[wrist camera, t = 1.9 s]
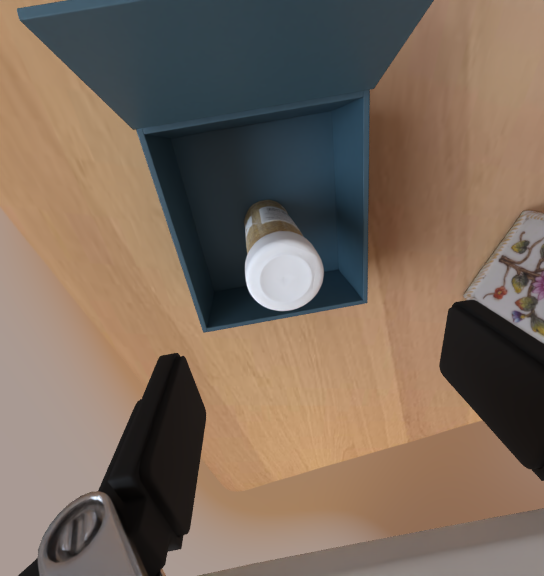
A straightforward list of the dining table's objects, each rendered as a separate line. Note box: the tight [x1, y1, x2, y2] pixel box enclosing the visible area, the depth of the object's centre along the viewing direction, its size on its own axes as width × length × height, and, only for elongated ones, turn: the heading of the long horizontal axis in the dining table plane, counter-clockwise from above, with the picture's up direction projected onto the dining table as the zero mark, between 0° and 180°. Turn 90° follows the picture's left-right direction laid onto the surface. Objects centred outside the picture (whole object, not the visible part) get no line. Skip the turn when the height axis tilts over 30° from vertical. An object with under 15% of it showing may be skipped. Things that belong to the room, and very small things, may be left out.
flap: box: [17, 0, 434, 130], centre depth 13 cm, size 8×15×1 cm
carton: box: [136, 89, 370, 333], centre depth 24 cm, size 16×15×7 cm
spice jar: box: [244, 200, 324, 311], centre depth 21 cm, size 5×5×13 cm
